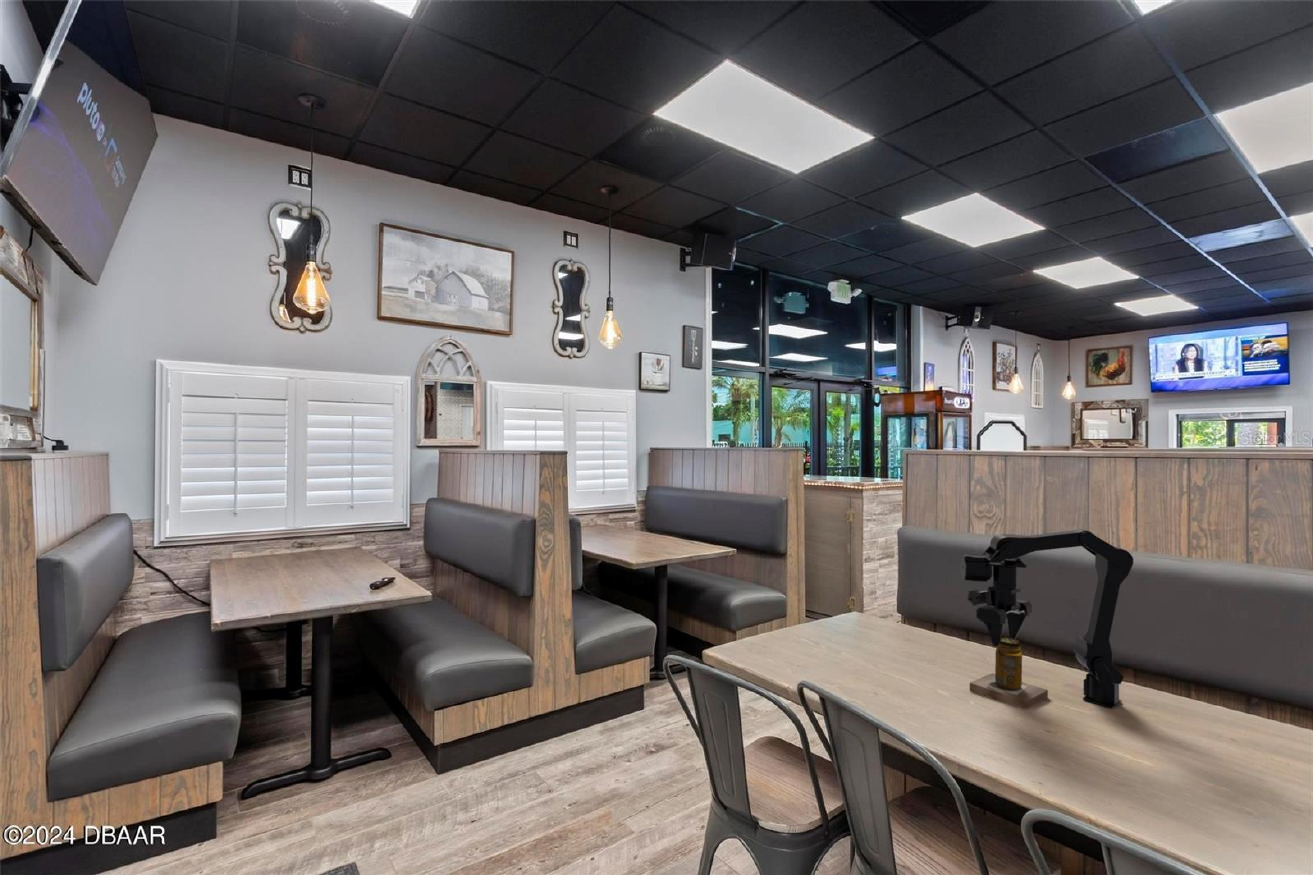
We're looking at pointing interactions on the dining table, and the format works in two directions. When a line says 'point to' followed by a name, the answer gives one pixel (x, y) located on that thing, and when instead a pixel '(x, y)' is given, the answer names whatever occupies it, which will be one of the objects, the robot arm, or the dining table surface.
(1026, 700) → the stand
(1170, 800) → the dining table surface
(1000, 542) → the robot arm
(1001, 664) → the condiment
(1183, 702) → the dining table surface
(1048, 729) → the dining table surface
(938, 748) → the dining table surface
